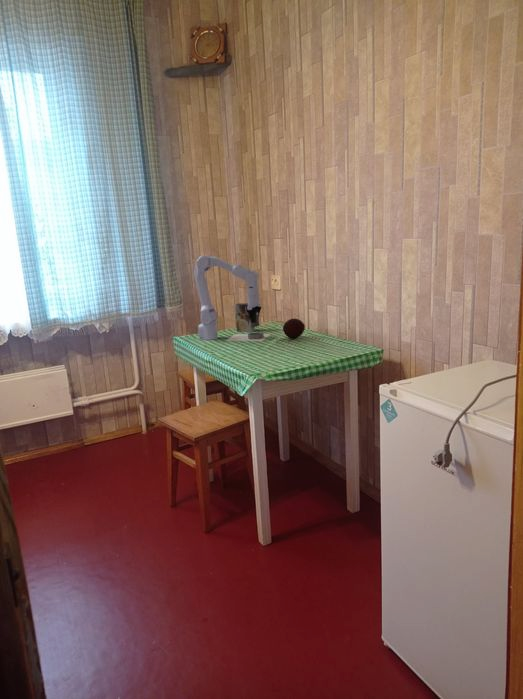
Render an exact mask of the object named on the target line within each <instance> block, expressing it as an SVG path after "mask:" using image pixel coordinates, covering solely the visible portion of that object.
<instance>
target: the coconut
mask: <svg viewBox="0 0 523 699" xmlns="http://www.w3.org/2000/svg"><path fill="white" fill-rule="evenodd" d="M305 328H306V326H305V324H304V322H303V321H302V320H300V319H298V318H290V319H288V320H286V322H285V323H284V324H283V326H282V331H283V333H284V334H285V336H286V337H287V338H289V339H290V340H296V339H298V338H299V337H301V336H302V335H303V333H304V331H305Z"/></svg>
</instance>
